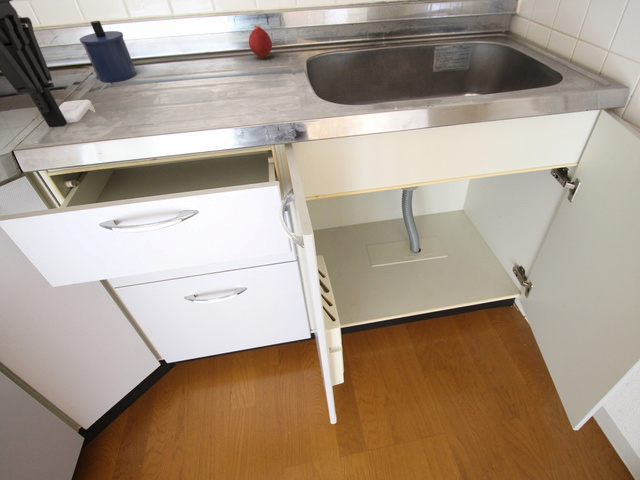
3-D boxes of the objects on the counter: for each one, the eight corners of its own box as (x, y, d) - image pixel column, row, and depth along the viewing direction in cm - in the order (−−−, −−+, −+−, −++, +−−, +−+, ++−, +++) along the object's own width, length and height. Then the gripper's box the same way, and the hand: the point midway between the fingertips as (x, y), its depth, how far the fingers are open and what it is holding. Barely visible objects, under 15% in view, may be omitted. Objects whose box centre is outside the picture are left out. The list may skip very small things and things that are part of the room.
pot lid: (75, 42, 93) (66, 23, 90) (114, 34, 98) (107, 15, 95) (90, 49, 88) (81, 28, 86) (131, 39, 93) (123, 20, 90)
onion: (267, 54, 108) (261, 20, 102) (278, 58, 104) (272, 24, 99) (248, 58, 105) (241, 24, 99) (259, 63, 102) (252, 28, 96)
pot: (93, 77, 99) (76, 40, 93) (127, 68, 103) (112, 31, 97) (108, 85, 94) (90, 46, 88) (142, 74, 99) (128, 37, 93)
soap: (70, 115, 81) (62, 100, 79) (97, 112, 82) (90, 98, 80) (53, 134, 75) (44, 118, 73) (83, 131, 75) (75, 115, 73)
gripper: (-29, -25, 53) (65, 140, 69) (19, -36, 62) (92, 111, 78) (-88, -21, 52) (21, 144, 68) (-30, -33, 62) (54, 114, 78)
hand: (59, 126), depth 73 cm, fingers closed
